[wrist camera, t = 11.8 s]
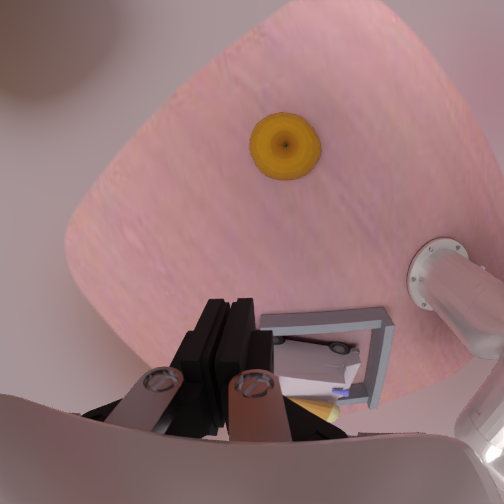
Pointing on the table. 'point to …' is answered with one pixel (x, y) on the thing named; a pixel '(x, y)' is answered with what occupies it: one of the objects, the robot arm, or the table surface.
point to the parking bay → (342, 323)
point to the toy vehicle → (315, 374)
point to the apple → (284, 146)
